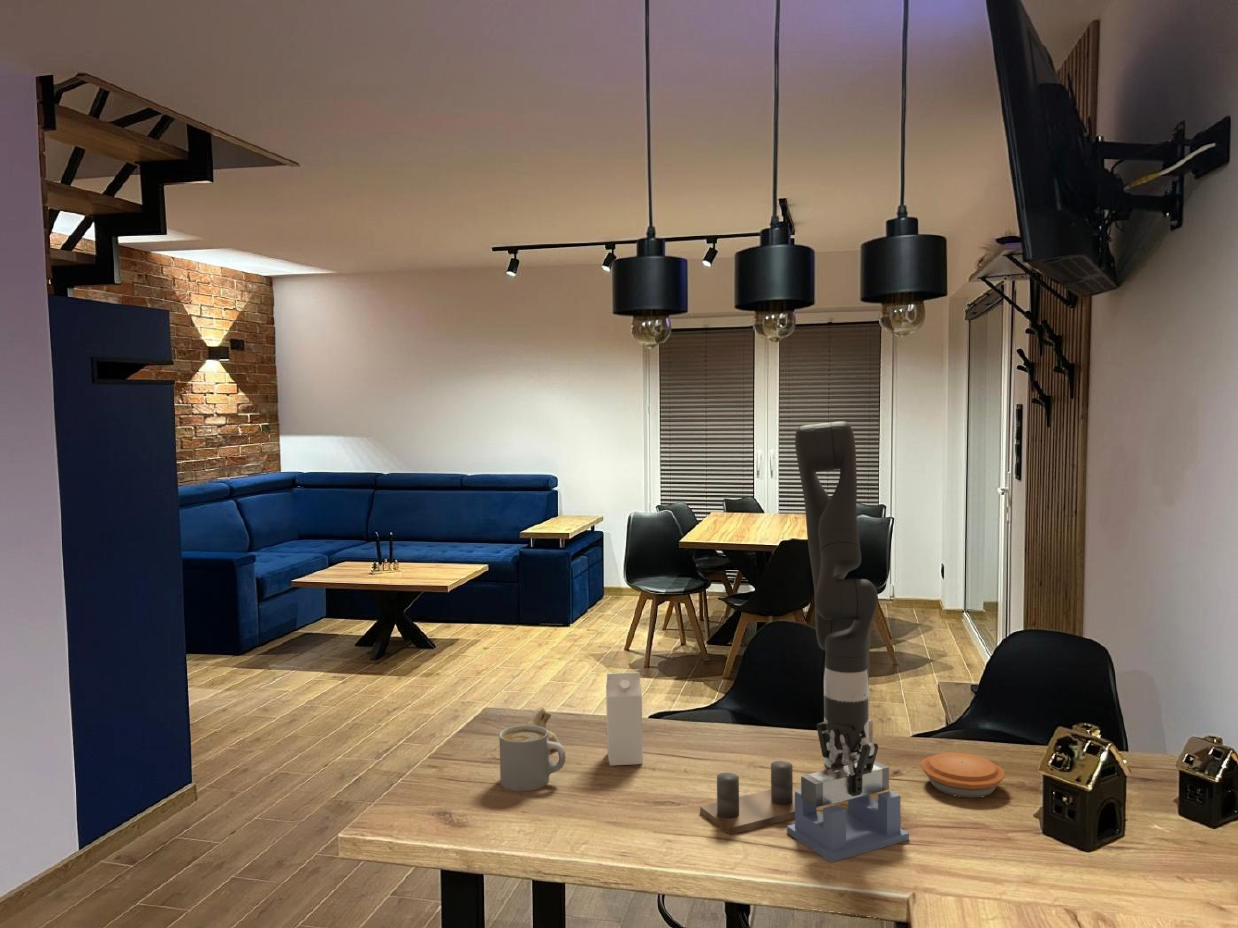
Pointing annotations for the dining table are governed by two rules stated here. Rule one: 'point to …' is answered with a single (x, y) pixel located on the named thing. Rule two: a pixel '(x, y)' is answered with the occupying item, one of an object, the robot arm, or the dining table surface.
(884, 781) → the steel bar
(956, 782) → the pie
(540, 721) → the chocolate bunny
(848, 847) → the notched cradle
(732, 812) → the stand
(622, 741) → the milk carton
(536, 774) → the coffee mug
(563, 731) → the dining table surface
